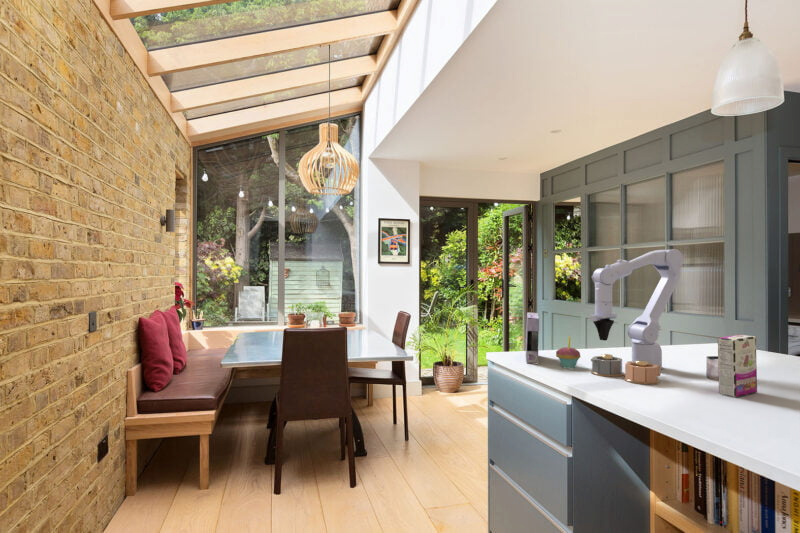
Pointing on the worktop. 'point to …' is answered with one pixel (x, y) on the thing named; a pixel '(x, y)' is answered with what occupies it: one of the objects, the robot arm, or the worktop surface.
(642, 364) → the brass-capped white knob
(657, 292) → the robot arm
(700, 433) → the worktop surface
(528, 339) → the cake pan box
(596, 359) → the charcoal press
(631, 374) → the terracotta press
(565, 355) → the cupcake
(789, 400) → the worktop surface
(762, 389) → the worktop surface
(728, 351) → the candy bar box
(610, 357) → the brass-capped silver knob
